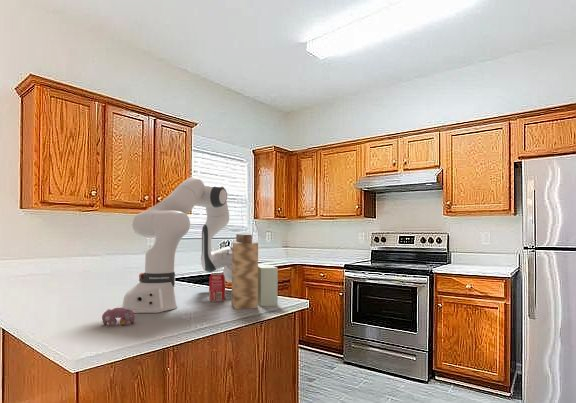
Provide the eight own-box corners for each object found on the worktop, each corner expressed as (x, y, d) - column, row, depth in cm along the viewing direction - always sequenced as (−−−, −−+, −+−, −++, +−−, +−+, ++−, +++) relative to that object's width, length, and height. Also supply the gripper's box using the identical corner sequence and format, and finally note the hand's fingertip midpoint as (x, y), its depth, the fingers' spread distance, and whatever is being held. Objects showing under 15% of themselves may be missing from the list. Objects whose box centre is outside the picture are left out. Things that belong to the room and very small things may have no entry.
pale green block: (260, 306, 163) (261, 268, 164) (254, 299, 178) (254, 264, 179) (277, 305, 164) (277, 267, 166) (269, 299, 180) (269, 264, 181)
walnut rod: (243, 243, 159) (243, 234, 159) (236, 241, 180) (236, 234, 180) (251, 243, 160) (251, 234, 160) (243, 241, 181) (243, 234, 181)
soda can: (217, 299, 180) (218, 272, 181) (228, 300, 175) (228, 273, 176) (205, 301, 174) (206, 273, 175) (216, 302, 170) (216, 274, 171)
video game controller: (101, 331, 127) (100, 313, 124) (103, 322, 131) (102, 304, 128) (134, 329, 130) (134, 311, 127) (135, 320, 134) (135, 303, 131)
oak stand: (235, 308, 157) (236, 243, 159) (231, 303, 169) (232, 242, 171) (257, 307, 159) (258, 243, 161) (252, 302, 171) (253, 242, 173)
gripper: (212, 258, 198) (214, 245, 187) (253, 258, 203) (257, 245, 192) (213, 270, 195) (215, 257, 184) (253, 269, 200) (258, 257, 189)
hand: (237, 251), depth 188 cm, fingers open, 8 cm apart
